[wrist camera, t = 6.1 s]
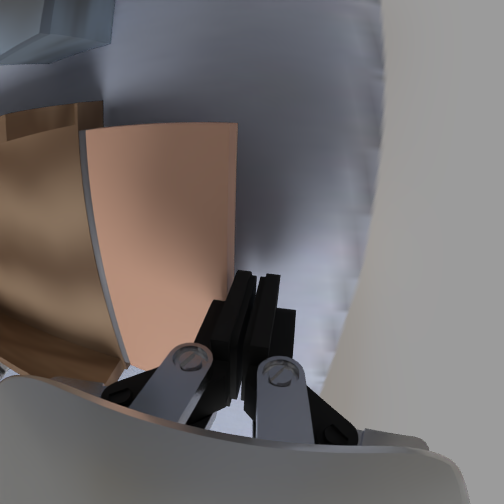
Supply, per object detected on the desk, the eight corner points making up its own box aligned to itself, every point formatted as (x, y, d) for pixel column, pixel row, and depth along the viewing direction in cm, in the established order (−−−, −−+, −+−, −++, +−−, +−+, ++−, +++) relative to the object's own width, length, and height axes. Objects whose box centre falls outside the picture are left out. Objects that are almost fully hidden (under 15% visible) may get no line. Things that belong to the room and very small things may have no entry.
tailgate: (74, 131, 10) (229, 123, 9) (87, 129, 11) (237, 122, 9) (121, 360, 16) (228, 398, 15) (127, 352, 17) (233, 388, 15)
